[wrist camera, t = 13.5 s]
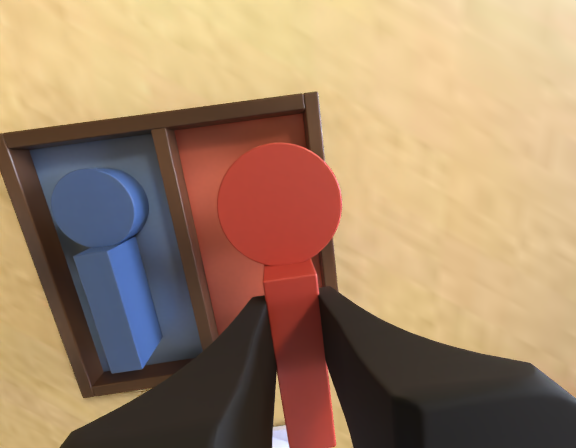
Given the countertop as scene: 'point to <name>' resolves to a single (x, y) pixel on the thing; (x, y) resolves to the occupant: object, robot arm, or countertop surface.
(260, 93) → the countertop surface
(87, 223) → the blue spoon
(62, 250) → the sorting tray
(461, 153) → the countertop surface
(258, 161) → the red spoon
